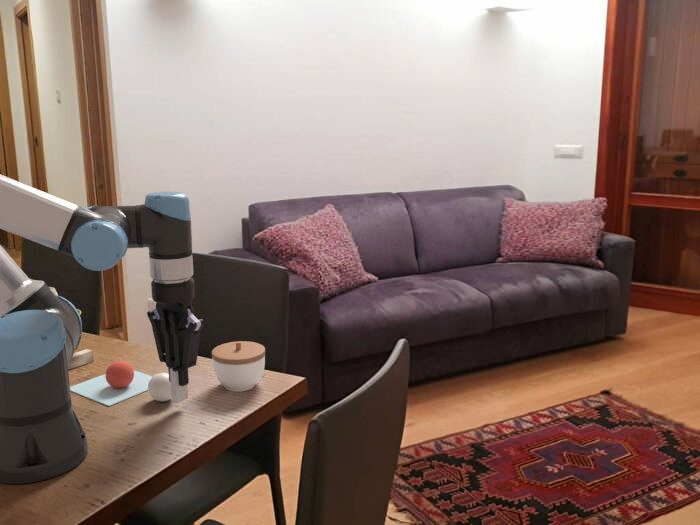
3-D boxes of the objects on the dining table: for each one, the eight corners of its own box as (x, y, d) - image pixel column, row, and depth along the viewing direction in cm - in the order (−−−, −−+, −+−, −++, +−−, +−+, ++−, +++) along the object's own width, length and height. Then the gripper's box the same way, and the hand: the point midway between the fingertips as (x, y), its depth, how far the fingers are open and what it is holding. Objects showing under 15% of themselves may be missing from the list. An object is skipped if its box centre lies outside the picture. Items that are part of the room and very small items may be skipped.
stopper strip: (48, 376, 141) (46, 365, 140) (42, 374, 142) (41, 363, 141) (93, 361, 149) (92, 350, 149) (88, 359, 151) (87, 348, 150)
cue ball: (146, 368, 128) (141, 393, 130) (157, 383, 124) (152, 408, 126) (172, 366, 132) (167, 390, 133) (184, 380, 128) (179, 405, 129)
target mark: (167, 382, 138) (167, 381, 138) (109, 406, 127) (108, 405, 127) (124, 367, 146) (124, 366, 146) (66, 389, 134) (65, 388, 134)
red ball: (106, 358, 132) (97, 374, 135) (117, 380, 130) (107, 396, 133) (131, 353, 137) (122, 369, 139) (142, 375, 134) (132, 390, 137)
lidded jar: (271, 376, 141) (270, 334, 139) (259, 397, 131) (258, 352, 129) (221, 374, 142) (220, 332, 140) (206, 395, 132) (204, 350, 130)
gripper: (213, 279, 119) (219, 401, 125) (164, 269, 126) (172, 385, 132) (181, 288, 113) (188, 416, 119) (132, 277, 120) (141, 398, 126)
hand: (180, 399), depth 125 cm, fingers closed
